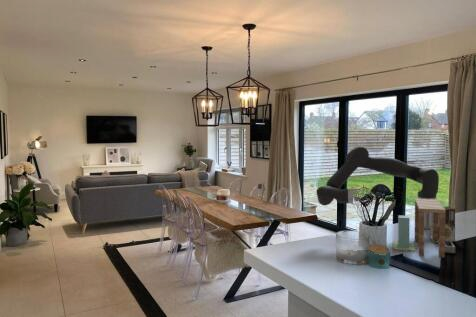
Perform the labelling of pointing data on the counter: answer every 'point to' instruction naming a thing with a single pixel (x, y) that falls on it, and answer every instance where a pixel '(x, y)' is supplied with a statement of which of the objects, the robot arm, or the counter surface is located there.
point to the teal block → (403, 231)
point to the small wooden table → (436, 208)
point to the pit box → (449, 247)
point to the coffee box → (446, 224)
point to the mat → (411, 247)
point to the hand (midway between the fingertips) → (394, 197)
